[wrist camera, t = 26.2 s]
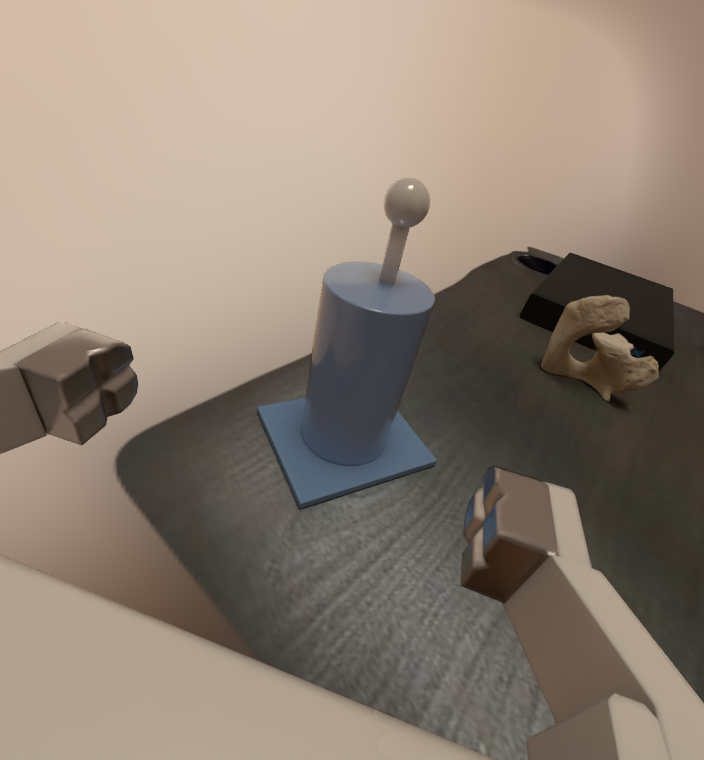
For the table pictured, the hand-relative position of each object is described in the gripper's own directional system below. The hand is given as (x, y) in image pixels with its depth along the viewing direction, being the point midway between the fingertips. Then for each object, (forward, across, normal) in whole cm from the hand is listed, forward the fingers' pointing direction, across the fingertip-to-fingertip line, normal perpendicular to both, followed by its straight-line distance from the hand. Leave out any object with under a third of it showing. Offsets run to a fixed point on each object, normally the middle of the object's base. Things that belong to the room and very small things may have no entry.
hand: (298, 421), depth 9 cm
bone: (+29, +18, -12) cm, 36 cm away
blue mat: (+12, 0, -12) cm, 17 cm away
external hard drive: (+47, +23, -12) cm, 54 cm away
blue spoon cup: (+12, 0, -12) cm, 16 cm away
